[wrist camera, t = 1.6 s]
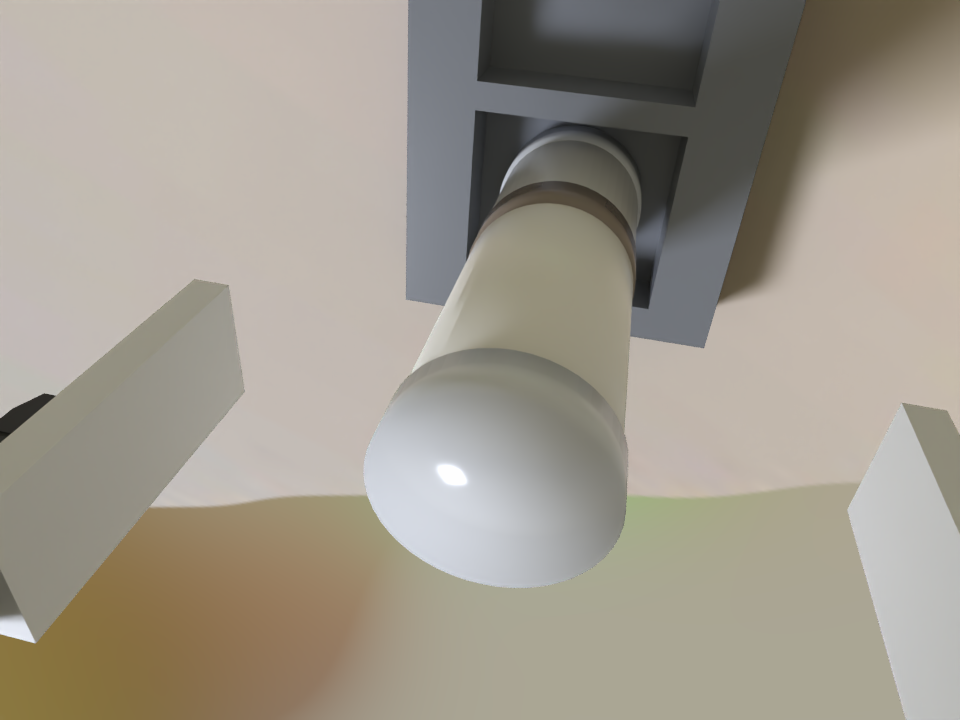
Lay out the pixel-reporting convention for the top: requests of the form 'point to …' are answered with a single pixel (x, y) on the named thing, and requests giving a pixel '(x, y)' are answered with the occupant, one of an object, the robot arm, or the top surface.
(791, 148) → the top surface
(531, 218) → the cylinder
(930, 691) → the robot arm
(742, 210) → the fuse holder
